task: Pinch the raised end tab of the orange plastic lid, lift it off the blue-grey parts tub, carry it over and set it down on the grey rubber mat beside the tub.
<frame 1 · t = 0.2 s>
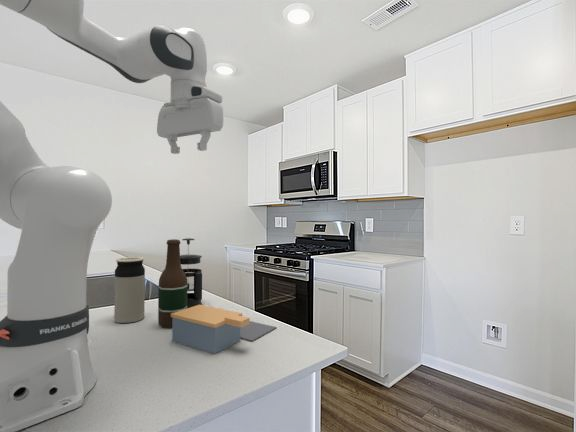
hand: (188, 151, 82), 47 cm above the counter, tool pointing down, fingers open, 8 cm apart
beer bottle: (172, 324, 91), on the counter
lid: (206, 316, 79), point 6 cm above the counter, touching tub
mat: (243, 329, 87), on the counter
french press: (188, 306, 109), on the counter
tub: (206, 340, 79), on the counter
travel mug: (129, 320, 95), on the counter
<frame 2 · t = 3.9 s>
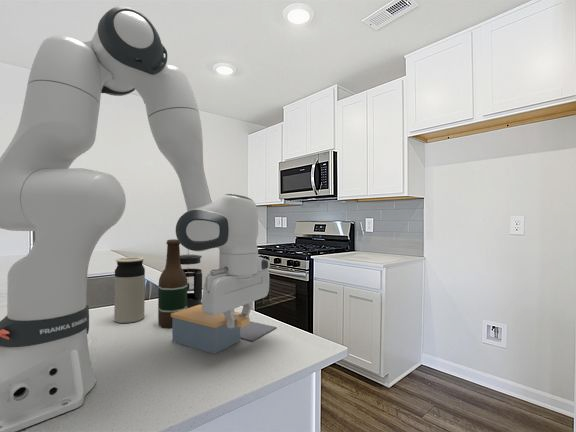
hand: (238, 324, 74), 6 cm above the counter, tool pointing down, fingers closed on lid, 3 cm apart
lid: (206, 316, 79), point 6 cm above the counter, touching gripper, tub
everything else where it was.
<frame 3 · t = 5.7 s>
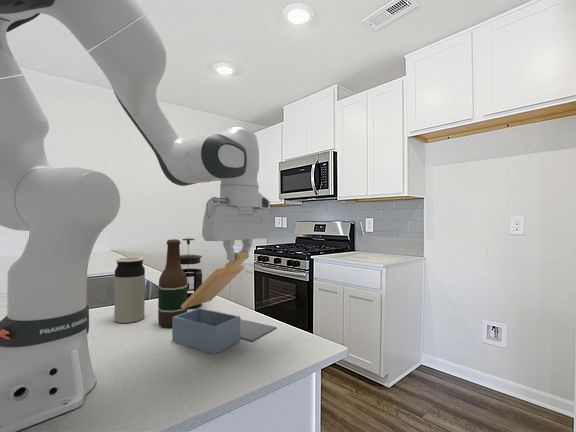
hand: (238, 259, 74), 21 cm above the counter, tool pointing down, fingers closed on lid, 3 cm apart
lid: (214, 287, 77), point 14 cm above the counter, tilted 42°, touching gripper
everything else where it was.
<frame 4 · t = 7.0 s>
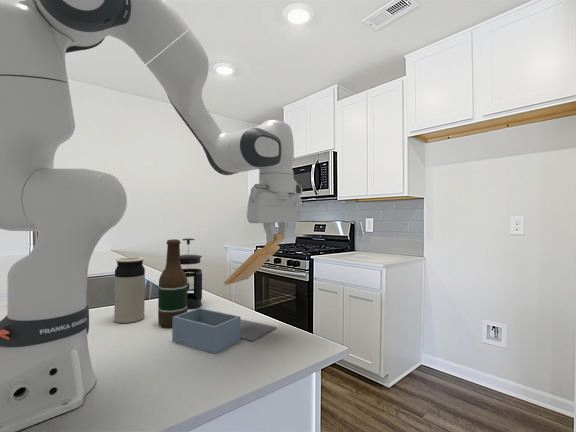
hand: (275, 240, 82), 25 cm above the counter, tool pointing down, fingers closed on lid, 3 cm apart
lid: (253, 266, 86), point 18 cm above the counter, tilted 41°, touching gripper
everything else where it was.
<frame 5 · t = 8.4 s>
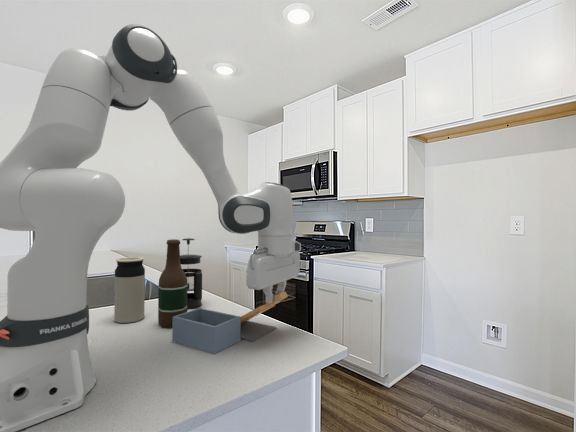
hand: (274, 300, 82), 9 cm above the counter, tool pointing down, fingers closed on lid, 3 cm apart
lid: (251, 315, 86), point 4 cm above the counter, tilted 31°, touching gripper, mat
everything else where it was.
when the fingers open (3 cm above the counter, at t = 9.9 s): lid stays where it is, resting on mat.
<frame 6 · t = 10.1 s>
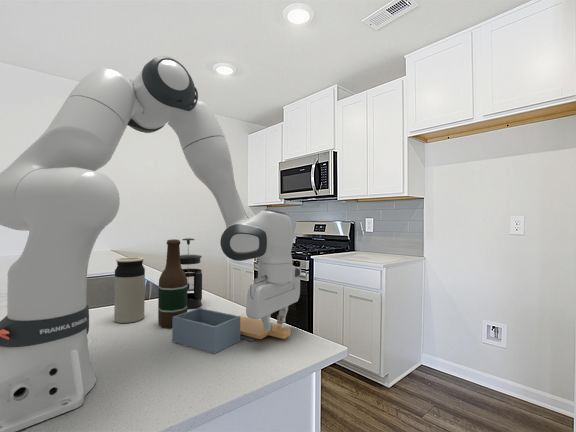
hand: (274, 326, 82), 3 cm above the counter, tool pointing down, fingers open, 5 cm apart
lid: (249, 327, 86), point 1 cm above the counter, touching mat
everything else where it was.
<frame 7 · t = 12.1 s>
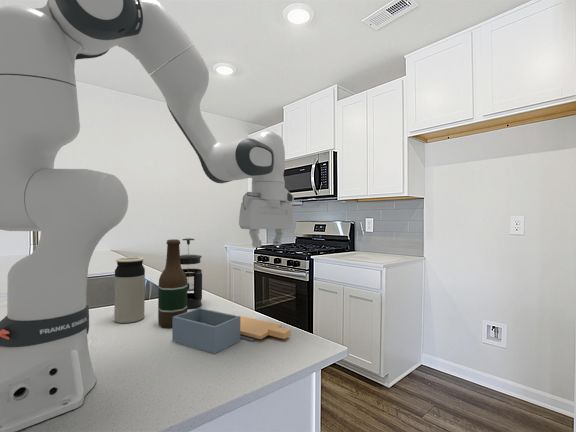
hand: (267, 246, 85), 23 cm above the counter, tool pointing down, fingers open, 8 cm apart
nothing on the counter moved.
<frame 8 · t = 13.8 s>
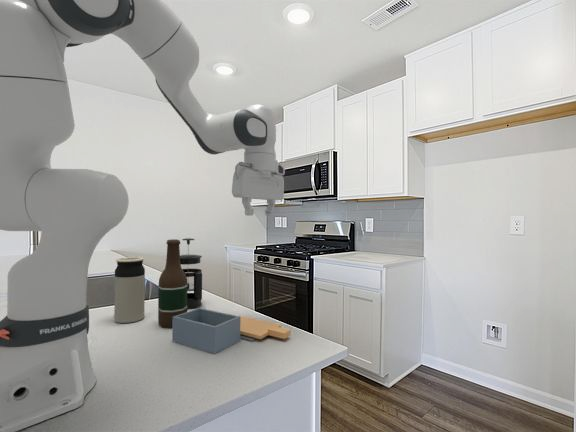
hand: (259, 215, 90), 31 cm above the counter, tool pointing down, fingers open, 8 cm apart
nothing on the counter moved.
at the end: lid inside the target area on the mat (1.7 cm from its centre), point 0.8 cm above the mat's base; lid touching mat; the gripper is holding nothing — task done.
